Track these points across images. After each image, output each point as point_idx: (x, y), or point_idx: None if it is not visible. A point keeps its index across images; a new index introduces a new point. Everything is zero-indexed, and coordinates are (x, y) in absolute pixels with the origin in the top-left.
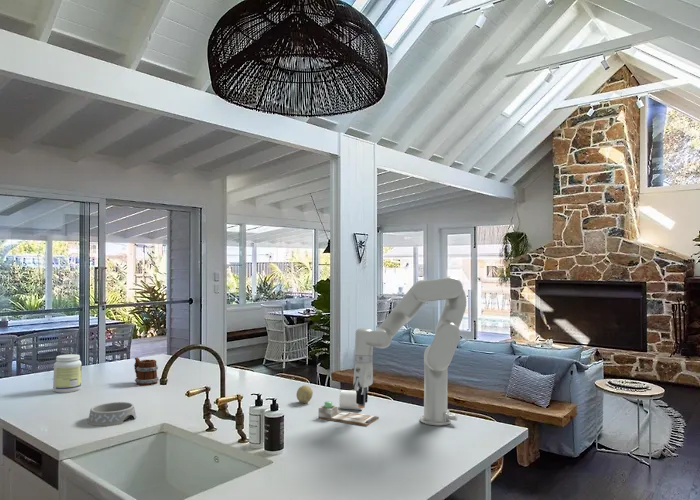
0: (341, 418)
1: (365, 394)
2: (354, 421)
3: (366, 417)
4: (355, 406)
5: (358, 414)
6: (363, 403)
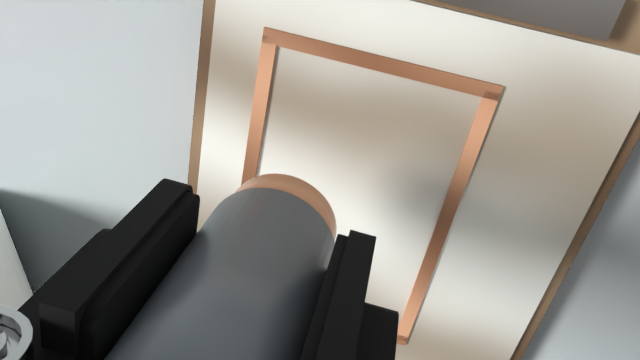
0: (475, 357)
1: (160, 331)
2: (587, 206)
3: (342, 78)
4: (21, 282)
5: None
6: (359, 236)
